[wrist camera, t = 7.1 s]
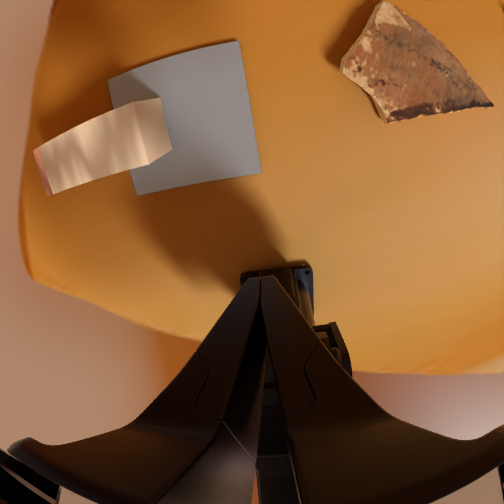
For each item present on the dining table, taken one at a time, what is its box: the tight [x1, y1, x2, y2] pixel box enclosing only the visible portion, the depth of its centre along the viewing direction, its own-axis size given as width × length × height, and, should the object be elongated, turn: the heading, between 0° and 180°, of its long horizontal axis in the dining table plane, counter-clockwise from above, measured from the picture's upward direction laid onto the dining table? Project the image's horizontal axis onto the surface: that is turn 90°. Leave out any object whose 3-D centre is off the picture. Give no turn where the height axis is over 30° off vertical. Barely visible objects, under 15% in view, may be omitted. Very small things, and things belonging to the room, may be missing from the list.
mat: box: [107, 41, 261, 196], centre depth 17 cm, size 10×10×1 cm
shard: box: [339, 1, 494, 124], centre depth 15 cm, size 13×9×2 cm
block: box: [33, 98, 172, 196], centre depth 16 cm, size 4×4×10 cm
